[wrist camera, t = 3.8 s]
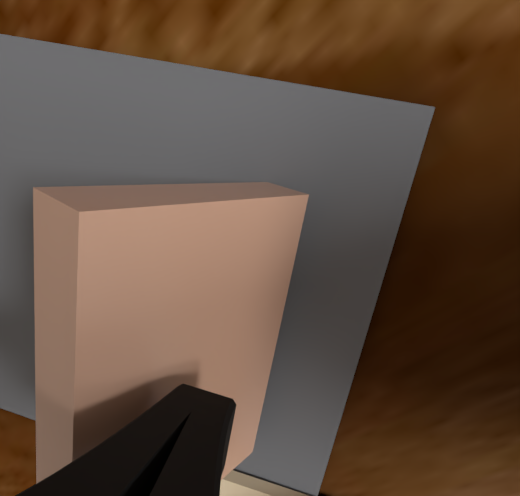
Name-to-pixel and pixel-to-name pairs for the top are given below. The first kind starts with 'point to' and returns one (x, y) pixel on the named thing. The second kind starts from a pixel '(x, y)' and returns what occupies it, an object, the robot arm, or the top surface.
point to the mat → (216, 171)
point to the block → (155, 304)
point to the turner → (252, 487)
